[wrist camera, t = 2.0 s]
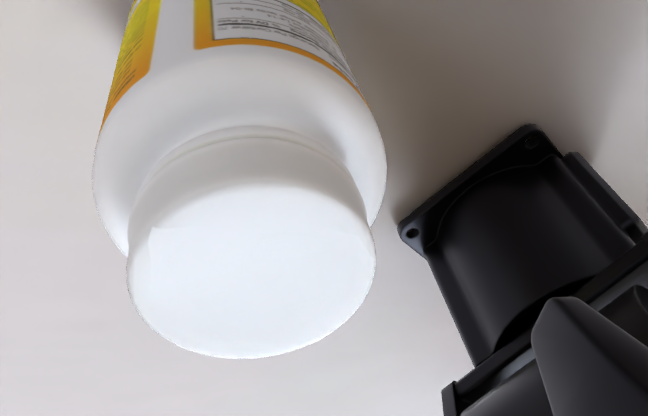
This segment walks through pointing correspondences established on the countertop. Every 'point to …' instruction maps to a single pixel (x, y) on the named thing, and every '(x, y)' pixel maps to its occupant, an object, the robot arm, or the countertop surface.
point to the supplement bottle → (239, 175)
